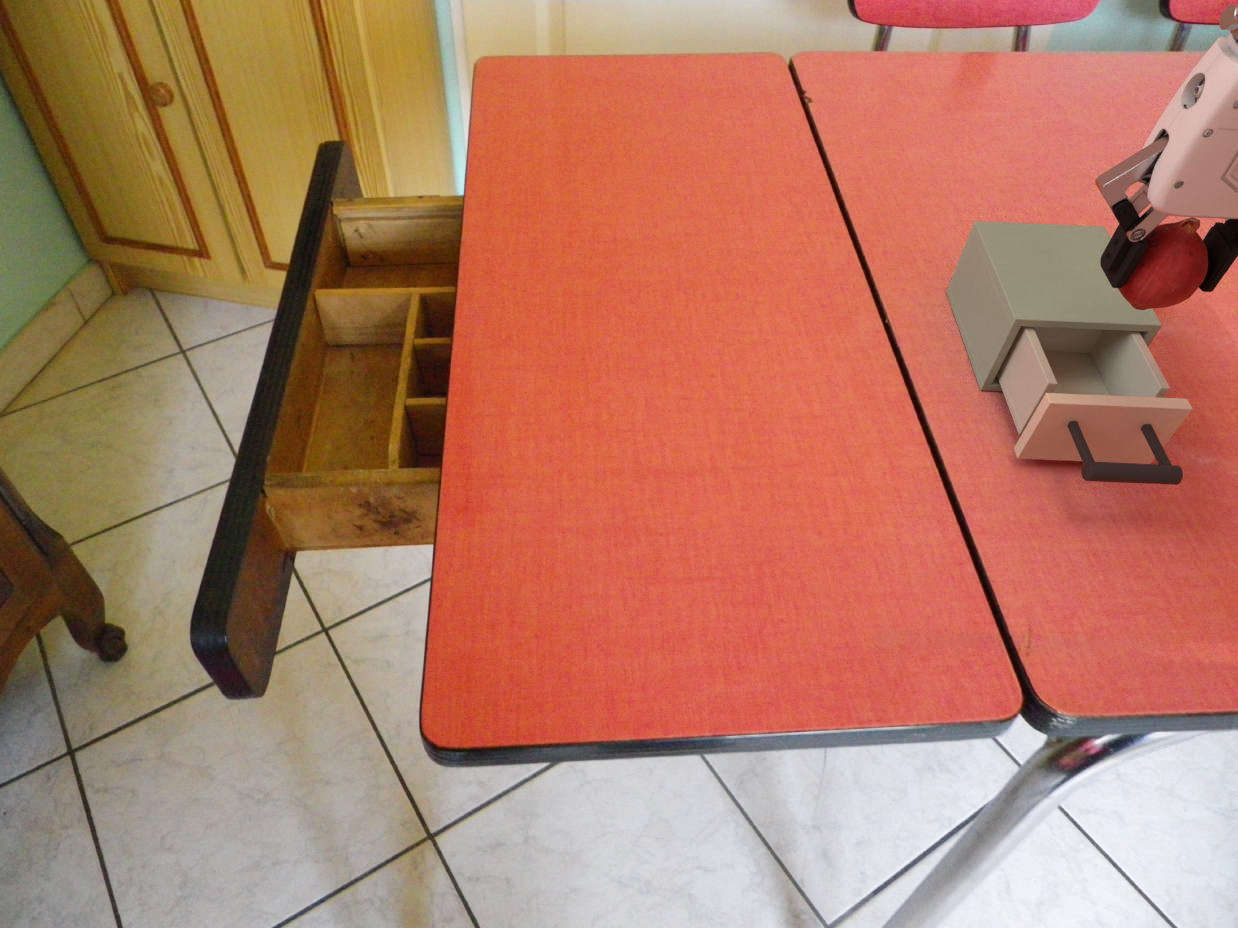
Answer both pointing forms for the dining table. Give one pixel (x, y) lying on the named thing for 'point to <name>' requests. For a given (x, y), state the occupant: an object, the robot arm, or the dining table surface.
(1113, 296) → the cabinet
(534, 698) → the dining table surface
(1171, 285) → the onion
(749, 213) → the dining table surface
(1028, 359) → the drawer
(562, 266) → the dining table surface
